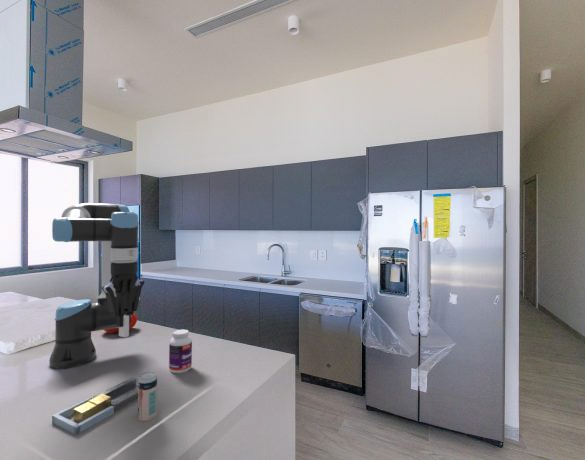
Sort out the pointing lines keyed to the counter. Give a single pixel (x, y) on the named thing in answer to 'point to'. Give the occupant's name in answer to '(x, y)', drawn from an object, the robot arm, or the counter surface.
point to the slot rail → (122, 393)
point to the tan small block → (84, 411)
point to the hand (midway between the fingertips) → (123, 335)
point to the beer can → (147, 396)
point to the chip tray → (77, 428)
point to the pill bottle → (180, 352)
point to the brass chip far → (101, 402)
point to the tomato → (133, 322)
